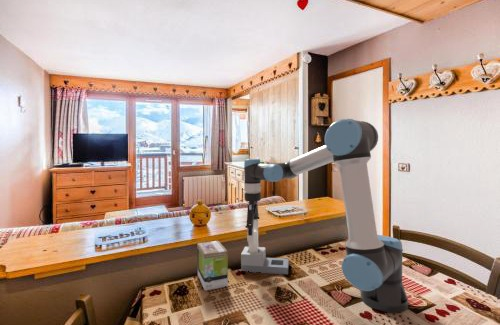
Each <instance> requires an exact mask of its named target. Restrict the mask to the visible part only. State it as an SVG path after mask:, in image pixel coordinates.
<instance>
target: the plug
mask: <svg viewBox="0 0 500 325" xmlns="http://www.w3.org/2000/svg"><path fill="white" fill-rule="evenodd" d="M248 247H249V253H258V247H259V229H258V230H256V229H254V242H248Z"/></svg>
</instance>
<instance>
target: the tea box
mask: <svg viewBox="0 0 500 325" xmlns="http://www.w3.org/2000/svg"><path fill="white" fill-rule="evenodd" d="M196 247H197V248H196V250H197V251H196V252H197V254H196V255H197V258H196V259H197V278H198V279H199V280H200V284H201V286H202V287H203V288H202V289H203V290H204V291H211V290H215V289H220V288H221V289H222V288H225V286H226V287H228V284H229V280H228V279H229V278H228V277H229V276H228V272H229V270H228V267H229V266H228V265H229V264H228V260H229V259H228V258H229V255H228V250H227V248H225V246H224V245H223V244H222V243H221V242H220V241H219V240H214V241H212V240H211V241H205V242H204V241H203V242H198V243H197V246H196Z"/></svg>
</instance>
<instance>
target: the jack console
mask: <svg viewBox="0 0 500 325" xmlns="http://www.w3.org/2000/svg"><path fill="white" fill-rule="evenodd" d="M266 255H267V254H266V247H264V246H258V253H249V246H244V247H243V250H242V251H241V253H240V266H241V267H240V271H247V272H246V273H256V272H261V274H274V275H278V274H279V275H288V274H289V264H290V262H289V258H284V257H282V258H281V257H279V258H278V257H266ZM248 271H249V272H248Z"/></svg>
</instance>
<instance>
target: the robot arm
mask: <svg viewBox="0 0 500 325" xmlns="http://www.w3.org/2000/svg"><path fill="white" fill-rule="evenodd" d="M378 141H379V134H378V130H377V129H376V127H375V126H374V125H373V124H371V123H369V122H368V121H361V120H357V119H356V120H355V119H353V118H342V119H339V120H336V121H333V123H331V125H329V127H328V128H327V129H326V131H325V134H324V145H322V146H320V147H317V148H314V149H312V150H310V151H308V152H306V153H304V154H302V155H299V156H297V157H295V158H292V159H291V160H288V161H286V162H279V163H277V162H275V163H261V159H259V158H246V159H245V160H244V164H243V165H244V166H243V171H244V173H243V174H244V175H243V176H244V179H243V181H244V182H243V183H244V186H243V187H244V190H243V191H244V201H246V202H248V204H247V212H246V213H247V214H246V225H245V228H246V231H247V233H246V241H247V243H249V242H254V229H256V230H258V231H259V220H260V216H259V207H258V202H260V201H261V200H262V197H261V196H262V194H261V190H262V189H261V188H263V186H262V183H261V181H264V182H271V183H273V182H276V183H278V182H279V181H281V180H286V179H287V180H288V179H289V180H291V179H294V178H297V177H298V175H301V174H303V173H307V172H310V171H312V170H314V169H318V168H320V167H322V166H325V165H328V164H330V163H334V164H335V165H337V166H338V168H339V174H340V182H341V189H342V190H341V191H342V198H343V203H344V204H343V205H344V212H345V217H346V218H345V219H346V225H347V232H348V234H347V235H348V240H347V241H346V242H345V243H344V244H345V245H344V247H345V254H346V255H345V257H344V258H343V260H342V262H341V271H342V274H343V276H344V278H345V279H346V281H347V282H348V283H350V285H351V286H352V287H354V288H356V289H358V290H359V291H360V298H361V300H362V302H363V303H364V304H365V305H367V306H369V308H372V309H374V310H377V311H381V312H385V313H392V314H397V313H398V314H399V313H403V312H405V311H406V310H407V309H408V308H409V299H408V295H407V293H406V290H405V288H404V287H405V286H404V284H403V251H404V249H403V243H402V241H401V240H400V239H398V238H395V237H391V236H387V235H380V234H378V231H377V226H376V225H377V224H376V219H375V210H374V204H373V199H372V191H371V185H370V178H369V170H368V163H369V161H370V160H371V158H372V154H371V152H372V151H373V150H374V149H375V148H376V146H377V145H378Z"/></svg>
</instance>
